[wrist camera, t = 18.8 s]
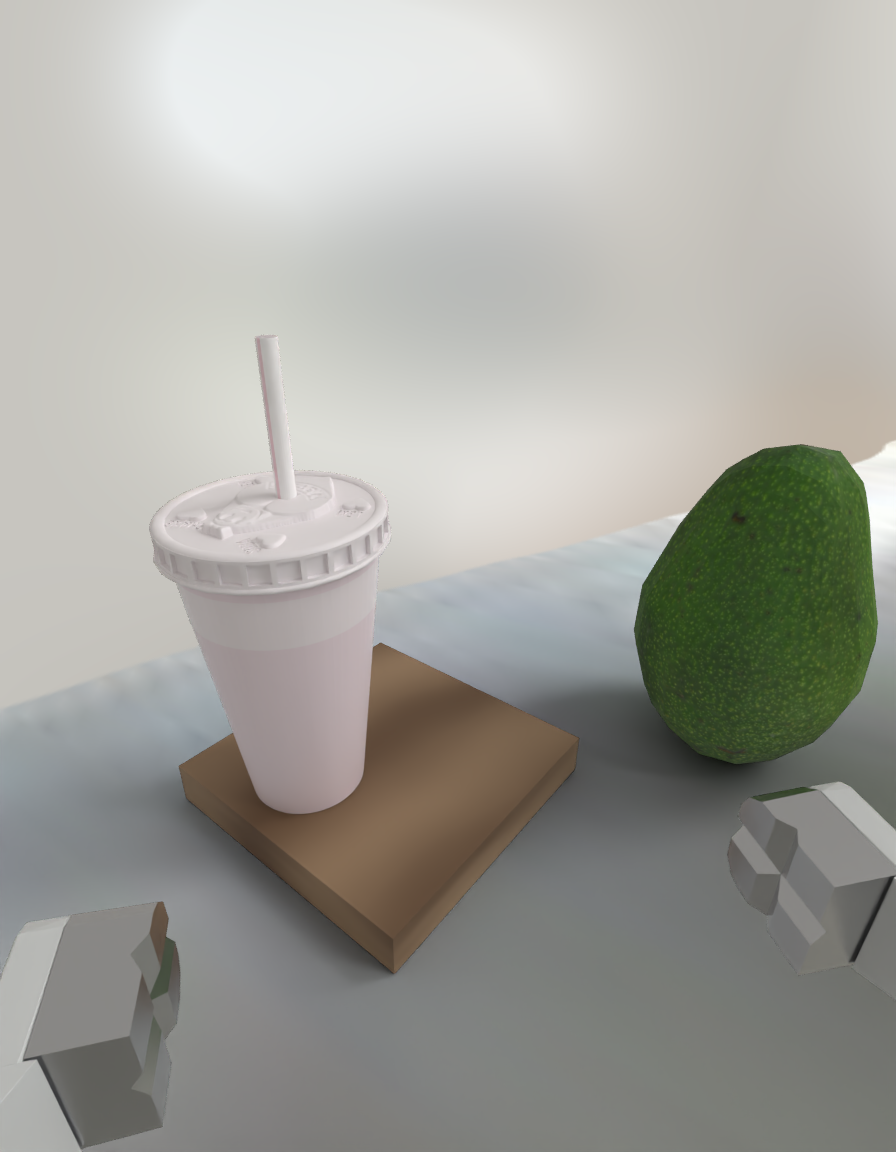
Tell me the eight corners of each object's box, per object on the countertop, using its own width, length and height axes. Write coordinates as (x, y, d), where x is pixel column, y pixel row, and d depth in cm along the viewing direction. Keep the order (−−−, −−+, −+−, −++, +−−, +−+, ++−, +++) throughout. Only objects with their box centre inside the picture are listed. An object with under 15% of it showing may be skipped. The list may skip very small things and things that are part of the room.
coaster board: (575, 768, 25) (579, 738, 24) (394, 973, 18) (392, 939, 17) (381, 670, 30) (380, 642, 30) (186, 798, 24) (178, 766, 23)
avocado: (852, 729, 27) (958, 442, 22) (794, 849, 22) (916, 508, 16) (666, 656, 32) (716, 403, 26) (582, 740, 26) (621, 445, 21)
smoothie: (440, 752, 23) (433, 332, 17) (312, 886, 19) (234, 377, 12) (306, 690, 27) (256, 316, 20) (169, 792, 22) (44, 347, 15)
